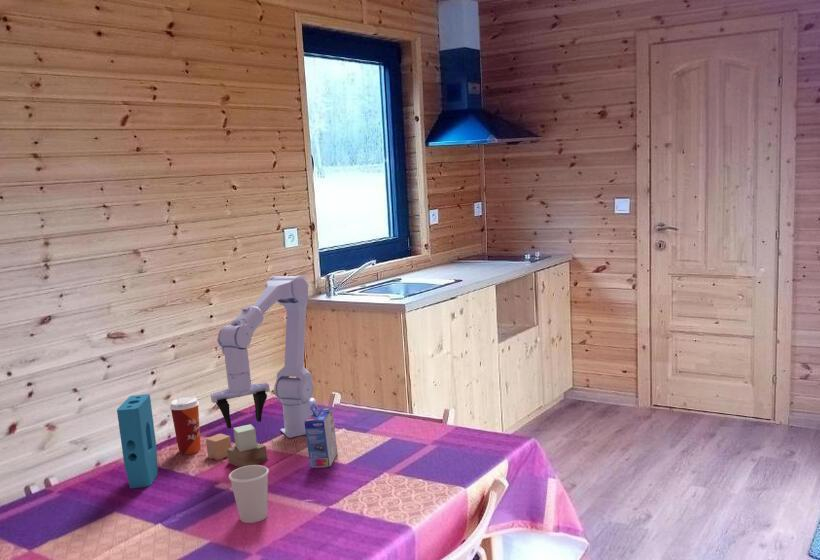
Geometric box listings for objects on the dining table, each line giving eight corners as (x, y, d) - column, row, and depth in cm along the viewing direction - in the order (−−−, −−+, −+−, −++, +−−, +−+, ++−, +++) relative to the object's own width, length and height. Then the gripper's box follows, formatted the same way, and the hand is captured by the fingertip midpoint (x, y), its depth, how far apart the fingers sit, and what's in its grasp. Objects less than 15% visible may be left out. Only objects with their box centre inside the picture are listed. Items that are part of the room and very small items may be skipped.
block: (148, 489, 183) (137, 408, 180) (126, 491, 183) (115, 410, 180) (160, 469, 195) (150, 393, 192) (140, 471, 195) (130, 395, 192)
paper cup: (199, 455, 204) (193, 404, 202) (171, 456, 204) (164, 406, 202) (208, 444, 211) (202, 395, 209) (180, 446, 212) (174, 397, 210)
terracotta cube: (222, 451, 206) (220, 433, 205) (232, 454, 203) (230, 436, 202) (208, 456, 202) (205, 438, 202) (217, 460, 199) (215, 441, 199)
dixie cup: (256, 505, 170) (251, 462, 168) (281, 513, 164) (276, 469, 163) (225, 520, 163) (220, 475, 162) (250, 529, 158) (245, 483, 157)
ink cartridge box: (317, 453, 198) (311, 399, 196) (338, 452, 198) (333, 398, 196) (308, 468, 189) (302, 411, 187) (330, 467, 188) (325, 410, 186)
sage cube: (252, 442, 199) (250, 424, 198) (257, 447, 195) (255, 428, 194) (235, 446, 197) (233, 427, 197) (239, 451, 193) (237, 432, 193)
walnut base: (251, 455, 202) (249, 440, 201) (267, 460, 197) (265, 445, 196) (228, 464, 197) (226, 449, 196) (244, 469, 192) (242, 454, 191)
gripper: (213, 380, 187) (219, 434, 189) (270, 369, 193) (276, 421, 195) (206, 375, 193) (212, 427, 195) (262, 364, 199) (268, 414, 201)
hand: (244, 423), depth 195 cm, fingers open, 7 cm apart
